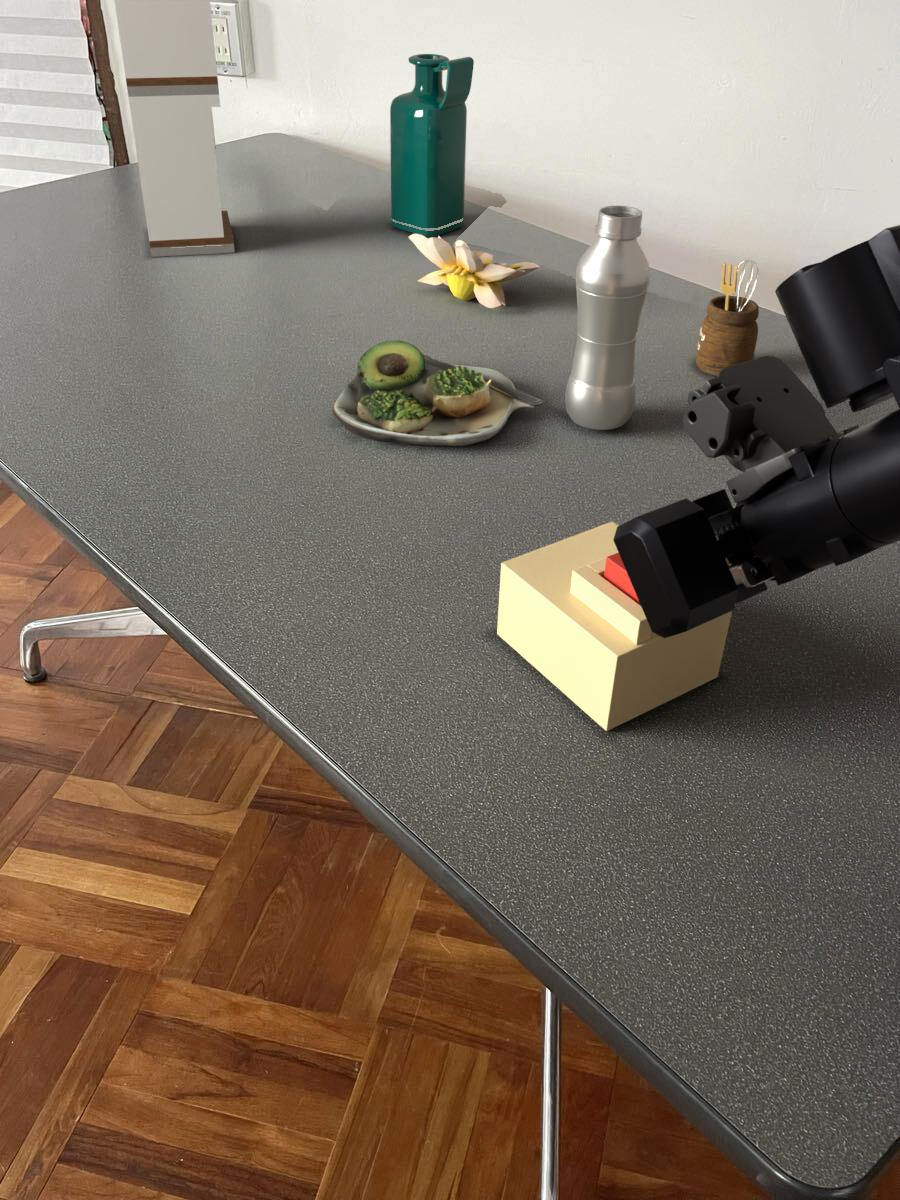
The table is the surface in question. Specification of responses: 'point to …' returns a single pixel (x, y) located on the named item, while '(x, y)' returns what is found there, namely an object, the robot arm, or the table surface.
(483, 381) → the salad plate
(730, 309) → the utensil holder
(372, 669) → the table surface
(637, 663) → the switch block
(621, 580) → the button
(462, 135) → the pitcher
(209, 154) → the striped white pillar
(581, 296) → the silver metal bottle
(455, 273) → the decorative flower
